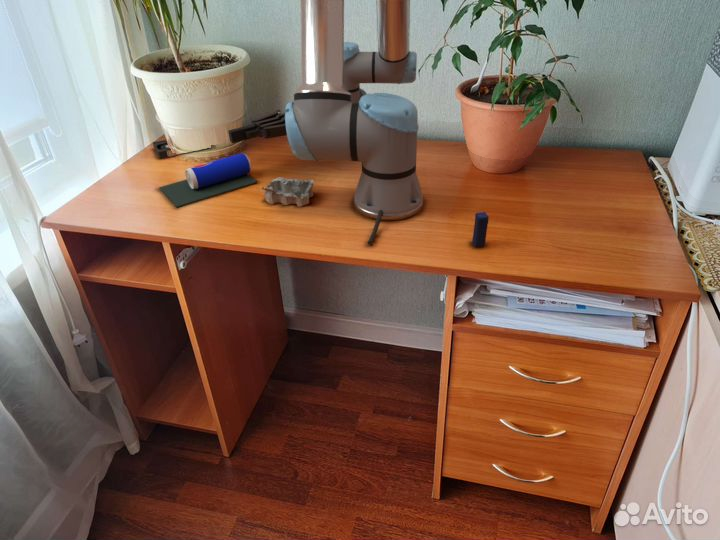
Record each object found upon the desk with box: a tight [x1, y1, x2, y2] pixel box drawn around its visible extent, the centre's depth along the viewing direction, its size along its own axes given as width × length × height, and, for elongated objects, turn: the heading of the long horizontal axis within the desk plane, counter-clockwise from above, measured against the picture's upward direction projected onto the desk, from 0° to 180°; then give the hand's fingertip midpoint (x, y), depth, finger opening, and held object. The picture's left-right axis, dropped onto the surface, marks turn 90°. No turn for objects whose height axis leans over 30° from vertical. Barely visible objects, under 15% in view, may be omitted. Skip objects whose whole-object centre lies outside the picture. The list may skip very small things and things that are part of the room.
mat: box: [159, 174, 258, 209], centre depth 126 cm, size 20×12×1 cm, turn 126°
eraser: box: [472, 211, 490, 248], centre depth 100 cm, size 2×2×7 cm
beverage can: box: [184, 152, 253, 189], centre depth 126 cm, size 5×5×15 cm
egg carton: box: [261, 176, 314, 207], centre depth 119 cm, size 11×8×4 cm
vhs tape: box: [152, 139, 179, 160], centre depth 145 cm, size 14×8×2 cm, turn 117°
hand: (230, 136), depth 123 cm, fingers closed
